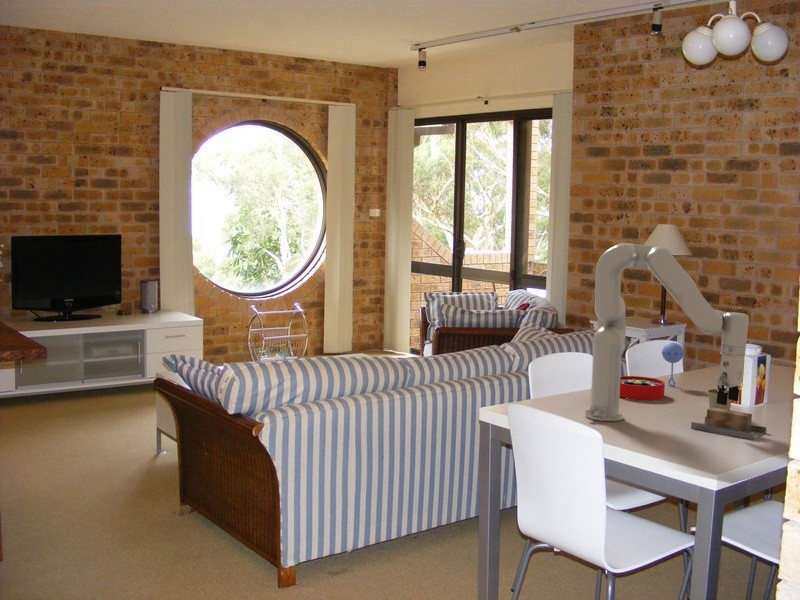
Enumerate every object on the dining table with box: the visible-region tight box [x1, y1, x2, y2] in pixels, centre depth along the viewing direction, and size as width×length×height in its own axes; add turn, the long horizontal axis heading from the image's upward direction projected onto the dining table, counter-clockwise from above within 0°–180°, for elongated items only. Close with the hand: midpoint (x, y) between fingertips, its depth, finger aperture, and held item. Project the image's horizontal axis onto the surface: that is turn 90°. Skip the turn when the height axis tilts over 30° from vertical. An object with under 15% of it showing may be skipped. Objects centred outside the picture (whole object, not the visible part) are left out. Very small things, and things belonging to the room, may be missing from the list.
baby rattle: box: [661, 341, 685, 387], centre depth 359 cm, size 9×9×18 cm
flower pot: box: [706, 388, 733, 410], centre depth 308 cm, size 9×9×9 cm
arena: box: [690, 415, 767, 441], centre depth 287 cm, size 12×20×2 cm, turn 49°
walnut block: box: [706, 407, 753, 432], centre depth 287 cm, size 13×4×6 cm, turn 48°
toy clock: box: [620, 375, 666, 401], centre depth 340 cm, size 20×6×20 cm
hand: (727, 402), depth 287 cm, fingers open, 9 cm apart
